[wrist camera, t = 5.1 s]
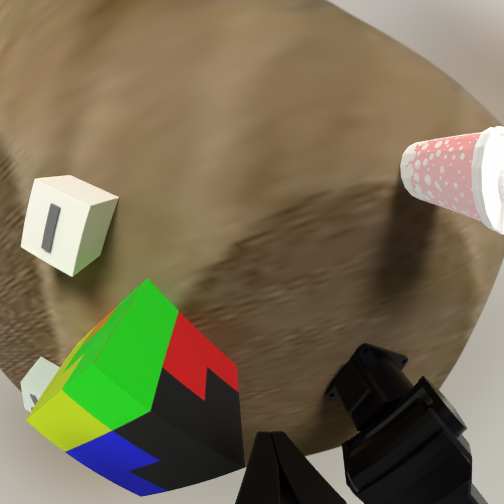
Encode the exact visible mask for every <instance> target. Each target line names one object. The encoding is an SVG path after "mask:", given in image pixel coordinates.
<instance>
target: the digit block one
mask: <svg viewBox="0 0 504 504" xmlns="http://www.w3.org/2000/svg"><path fill="white" fill-rule="evenodd" d="M118 199H119V197H117V196H115V195H113V194H110V193H108V192H106V191H104V190H102V189H99V188H97V187H95V186H93V185H90V184H88V183H86V182H84V181H82V180H79V179H77V178H75V177H73V176H71V175H66V176H56V177H46V178H37V179H35V180H34V184H33V188H32V192H31V196H30V200H29V204H28V209H27V214H26V219H25V224H24V230H23V236H22V243H21V247H22V248H24V249H25V250H27V251H28V252H30V253H32V254H33V255H35V256H37V257H38V258H40V259H42V260H43V261H45V262H47V263H48V264H50V265H52V266H54V267H55V268H57V269H59V270H61V271H62V272H64V273H66V274H68V275H70V276H71V277H73V276H74V275H75V274H77V273H78V272H79V271H81V270H82V269H83V268H84V267H86V266H87V265H88V264H90V263H91V262H92V261H94V260H95V259H96V258H98V257H99V256H100V255H101V252H102V248H103V245H104V241H105V238H106V235H107V232H108V228H109V225H110V222H111V219H112V216H113V213H114V210H115V208H116V205H117V202H118Z"/></svg>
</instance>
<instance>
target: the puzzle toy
mask: <svg viewBox="0 0 504 504" xmlns="http://www.w3.org/2000/svg"><path fill="white" fill-rule="evenodd" d="M26 421H27V422H28V423H29V424H30V425H32V426H33V427H34V428H35V429H36V430H37V431H39V432H40V433H41V434H42V435H43V436H45V437H46V438H47V439H49V440H50V441H51V442H52V443H54V444H55V445H56V446H58V447H59V448H60V449H62V450H63V451H64V452H66V453H67V454H69V455H70V456H71V457H73V458H74V459H76V460H77V461H79V462H80V463H82V464H83V465H85V466H86V467H88V468H90V469H91V470H93V471H94V472H96V473H98V474H99V475H101V476H103V477H105V478H106V479H108V480H110V481H112V482H113V483H115V484H117V485H119V486H121V487H123V488H125V489H127V490H129V491H131V492H133V493H135V494H137V495H139V496H147V495H152V494H157V493H162V492H166V491H171V490H175V489H179V488H183V487H186V486H190V485H193V484H197V483H201V482H204V481H207V480H211V479H214V478H217V477H219V476H223V475H226V474H228V473H231V472H234V471H236V470H239V469H242V468H245V463H244V451H243V440H242V428H241V416H240V403H239V390H238V376H237V366H236V365H235V364H234V363H233V362H232V361H231V360H230V359H228V358H227V357H226V356H225V355H224V354H223V353H222V352H221V351H220V350H219V349H218V348H216V347H215V346H214V345H213V344H212V343H211V342H210V341H209V340H208V339H207V338H206V337H205V336H204V335H203V334H202V333H201V332H200V331H198V330H197V329H196V328H195V327H194V326H193V325H192V324H191V323H190V322H189V321H188V320H187V319H186V318H185V317H184V316H183V315H182V314H181V313H180V312H179V311H178V310H177V309H176V308H175V307H174V306H173V305H172V304H171V303H170V301H169V300H168V299H167V298H166V297H165V296H164V295H163V294H162V293H161V292H160V291H159V290H158V289H157V288H156V287H155V286H154V285H153V283H152V282H151V281H150V280H149V279H148V278H147V279H146V280H145V281H144V282H143V283H142V284H141V285H140V286H138V287H137V288H136V289H135V290H134V291H133V292H132V293H131V294H130V295H128V296H127V297H126V298H125V299H124V300H123V301H122V302H121V303H120V304H119V305H118V306H116V307H115V308H114V309H113V310H112V311H111V312H110V313H109V314H108V315H107V316H106V317H105V318H104V319H102V320H101V321H100V322H99V323H98V324H97V325H96V326H95V327H94V328H93V329H92V330H91V331H90V332H89V333H88V334H87V335H86V336H85V337H84V338H83V339H82V340H81V341H79V342H78V343H77V345H76V346H75V347H74V349H73V350H72V352H71V353H70V354H69V356H68V357H67V359H66V360H65V361H64V363H63V364H62V366H61V367H60V369H59V370H58V371H57V373H56V374H55V376H54V377H53V379H52V380H51V382H50V383H49V385H48V386H47V388H46V389H45V391H44V392H43V394H42V395H41V397H40V398H39V400H38V402H37V403H36V405H35V406H34V408H33V410H32V411H31V413H30V414H29V416H28V418H27V419H26Z"/></svg>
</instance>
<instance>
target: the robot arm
mask: <svg viewBox="0 0 504 504" xmlns="http://www.w3.org/2000/svg"><path fill="white" fill-rule="evenodd" d="M365 348H366V349H365ZM364 349H365V350H364ZM407 362H408V358H407V357H406V356H405V355H401V354H398V353H395V352H392V351H389V350H386V349H383V348H379V347H376V346H373V345H370V344H367V343H365V344H362V345H361V346H360V347H359V349H358V350H357V352H356V353H355V354H354V356H353V357H352V359H351V360H350V361H349V363H348V364H347V366H346V367H345V368H344V370H343V371H342V372H341V374H340V375H339V376H338V378H337V379H336V380H335V381H334V383H333V384H332V385H331V387H330V388H329V389H328V390H327V392H326V397H327V398H328V399H332V400H338V401H342V403H343V405H344V407H345V409H346V411H347V413H348V414H349V415H350V416H351V418H352V420H353V422H354V424H355V426H356V429H357V431H361V432H359V433H358V434H357V435H355V436H354V437H353V438H351V439H350V440H347V441H345V442H344V443H343V444H342V449H343V458H344V467H345V477H346V483H347V485H348V487H349V488H350V489H351V491H352V492H353V493H354V494H355V495H356V496H357V497H358V498H359V499H360V500H361V501H362V502H364V504H488V503H487V502H486V500H485V499H484V498H483V497H482V495H481V494H480V493H479V491H478V490H477V489H476V488H475V486H474V485H473V484H472V456H471V450H470V446H469V443H468V442H467V441H466V439H465V438H464V437H463V436H462V433H463V432H464V431H465V430H466V429H467V427H466V425H465V424H464V422H463V421H462V419H461V418H460V416H459V414H458V413H457V412H456V410H455V409H454V407H453V406H452V405H451V404H450V402H449V401H448V400H447V399H446V398H445V397H444V395H443V394H442V393H441V392H440V391H439V390H438V389H437V388H436V387H435V386H434V385H433V384H431V383H430V382H429V381H428V380H427V379H426V378H425V377H424V376H422V377H421V378H420V379H419V380H418V381H419V382H418V383H417V384H416V385H415V386H413V385H412V383H411V382H410V381H409V379H408V378H407V377H406V376H405V374H404V373H403V372H402V371H401V370H402V369H403V367H404V366H405V365H406V363H407ZM235 504H346V501H345V500H344V499H343V498H342V497H341V496H340V495H339V494H338V493H337V492H336V491H335V490H334V489H333V488H332V487H331V486H330V485H329V483H328V482H327V481H326V480H325V479H324V478H323V477H322V476H321V475H320V474H319V472H318V471H317V470H316V469H315V468H314V467H313V466H312V465H311V463H309V461H308V460H307V459H306V458H305V456H304V455H303V454H302V453H301V452H300V451H299V449H298V448H297V447H296V446H295V445H294V443H293V442H292V441H291V440H290V439H289V437H288V436H287V435H286V434H285V433H284V432H282V431H273V432H271V433H270V432H257V435H256V438H255V441H254V445H253V448H252V452H251V455H250V458H249V462H248V465H247V468H246V471H245V475H244V478H243V481H242V484H241V487H240V491H239V493H238V496H237V500H236V503H235Z"/></svg>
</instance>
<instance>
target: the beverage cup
mask: <svg viewBox="0 0 504 504" xmlns="http://www.w3.org/2000/svg"><path fill="white" fill-rule="evenodd" d="M400 169H401V178H402V181H403V184H404V186H405V188H406V189H407V191H408V192H409V193H410V194H411V195H412V196H414V197H416V198H418V199H420V200H423V201H426V202H429V203H432V204H435V205H438V206H441V207H444V208H447V209H450V210H452V211H455V212H458V213H461V214H463V215H466V216H469V217H471V218H474V219H476V220H479V221H481V222H483V223H484V225H486V226H487V227H488V228H490V229H491V230H493V231H497V232H498V233H500V234H504V127H502V126H496V127H495V128H493V127H490V128H488V129H487V130H485V131H483V132H481V133H473V134H466V135H459V136H452V137H446V138H440V139H434V140H428V141H422V142H417V143H414V144H412V145H410V146H408V148H407V149H406V151H405V152H404V154H403V156H402V160H401V164H400Z"/></svg>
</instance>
